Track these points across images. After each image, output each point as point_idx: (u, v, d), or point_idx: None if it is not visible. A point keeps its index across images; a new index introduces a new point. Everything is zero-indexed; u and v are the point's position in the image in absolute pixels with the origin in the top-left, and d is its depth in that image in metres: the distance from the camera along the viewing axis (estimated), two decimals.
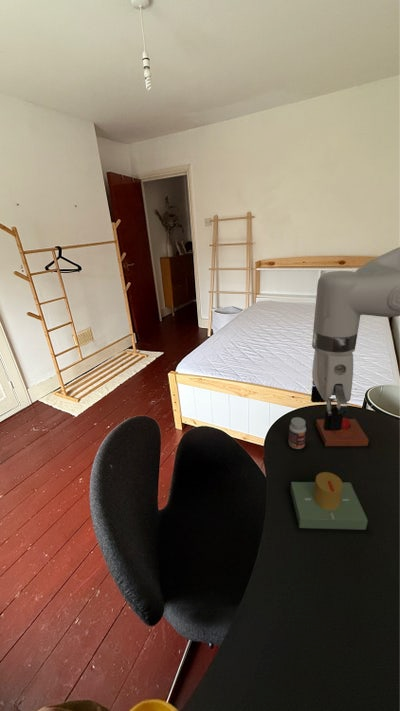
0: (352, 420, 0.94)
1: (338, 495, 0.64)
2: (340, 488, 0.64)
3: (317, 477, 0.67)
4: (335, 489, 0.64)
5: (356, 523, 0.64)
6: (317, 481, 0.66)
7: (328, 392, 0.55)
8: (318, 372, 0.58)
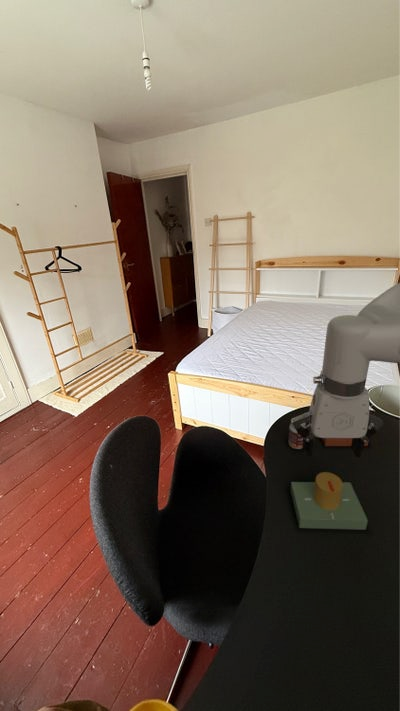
0: None
1: (338, 495, 0.64)
2: (340, 488, 0.64)
3: (317, 477, 0.67)
4: (335, 489, 0.64)
5: (356, 523, 0.64)
6: (317, 481, 0.66)
7: None
8: None
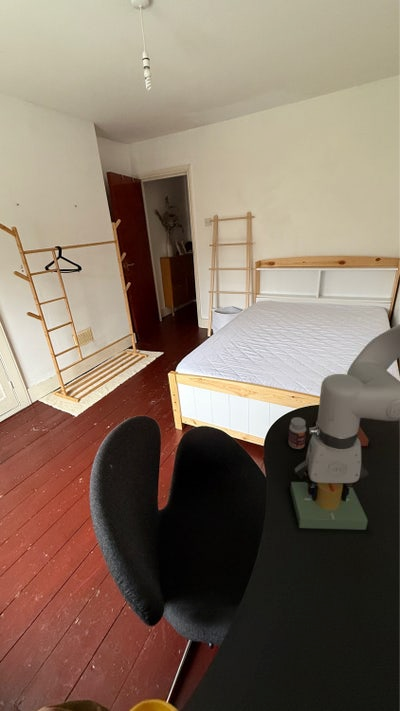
0: None
1: (338, 495, 0.64)
2: (340, 488, 0.64)
3: None
4: (335, 489, 0.64)
5: (356, 523, 0.64)
6: None
7: None
8: None
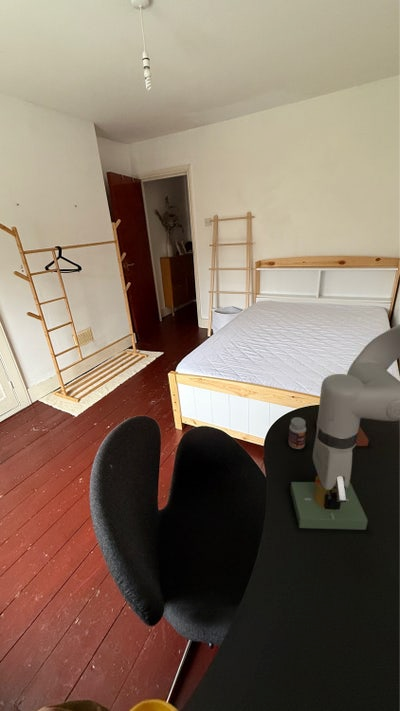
0: None
1: (318, 490, 0.66)
2: (323, 488, 0.65)
3: None
4: (321, 484, 0.65)
5: (356, 523, 0.64)
6: None
7: None
8: None
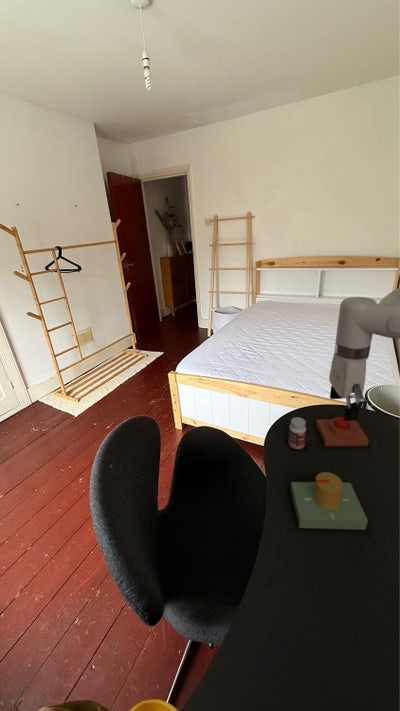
0: None
1: (318, 490, 0.66)
2: (323, 488, 0.65)
3: (331, 474, 0.68)
4: (321, 484, 0.65)
5: (356, 523, 0.64)
6: (326, 473, 0.68)
7: None
8: None
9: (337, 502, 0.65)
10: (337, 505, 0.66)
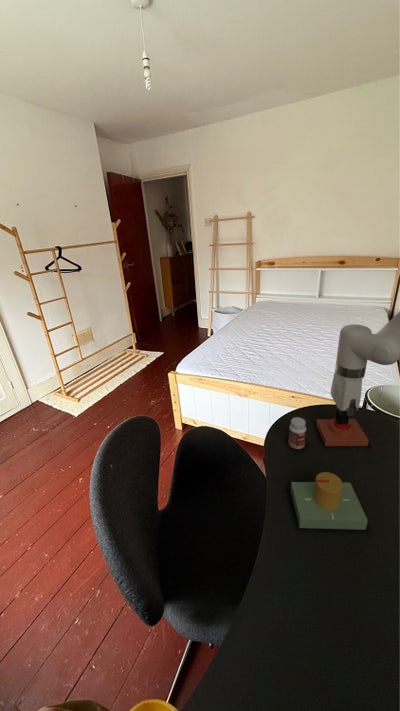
0: (352, 420, 0.94)
1: (318, 490, 0.66)
2: (323, 488, 0.65)
3: (331, 474, 0.68)
4: (321, 484, 0.65)
5: (356, 523, 0.64)
6: (326, 473, 0.68)
7: None
8: None
9: (337, 502, 0.65)
10: (337, 505, 0.66)
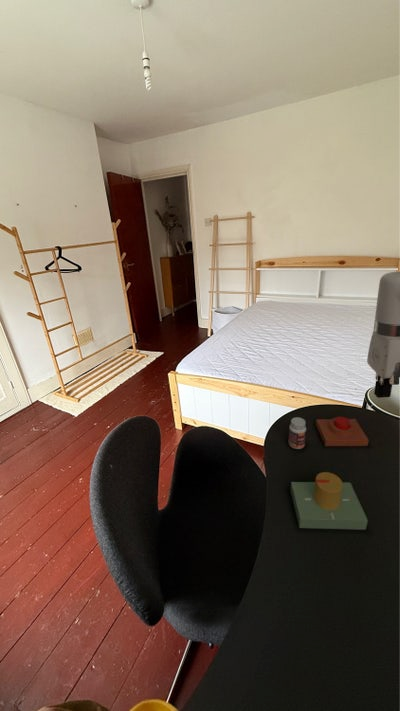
0: (352, 420, 0.94)
1: (318, 490, 0.66)
2: (323, 488, 0.65)
3: (331, 474, 0.68)
4: (321, 484, 0.65)
5: (356, 523, 0.64)
6: (326, 473, 0.68)
7: None
8: None
9: (337, 502, 0.65)
10: (337, 505, 0.66)
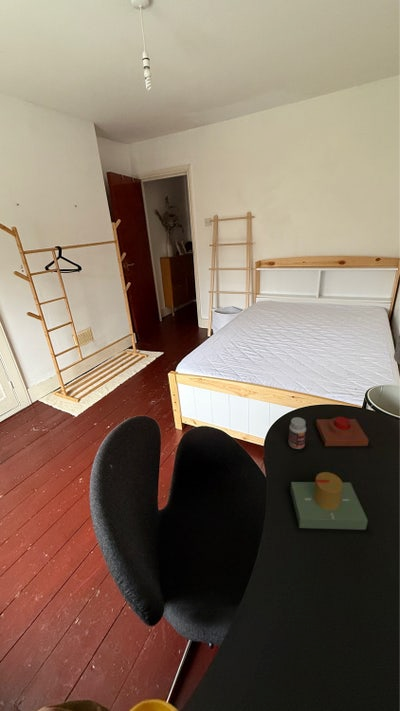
0: (352, 420, 0.94)
1: (318, 490, 0.66)
2: (323, 488, 0.65)
3: (331, 474, 0.68)
4: (321, 484, 0.65)
5: (356, 523, 0.64)
6: (326, 473, 0.68)
7: None
8: None
9: (337, 502, 0.65)
10: (337, 505, 0.66)
